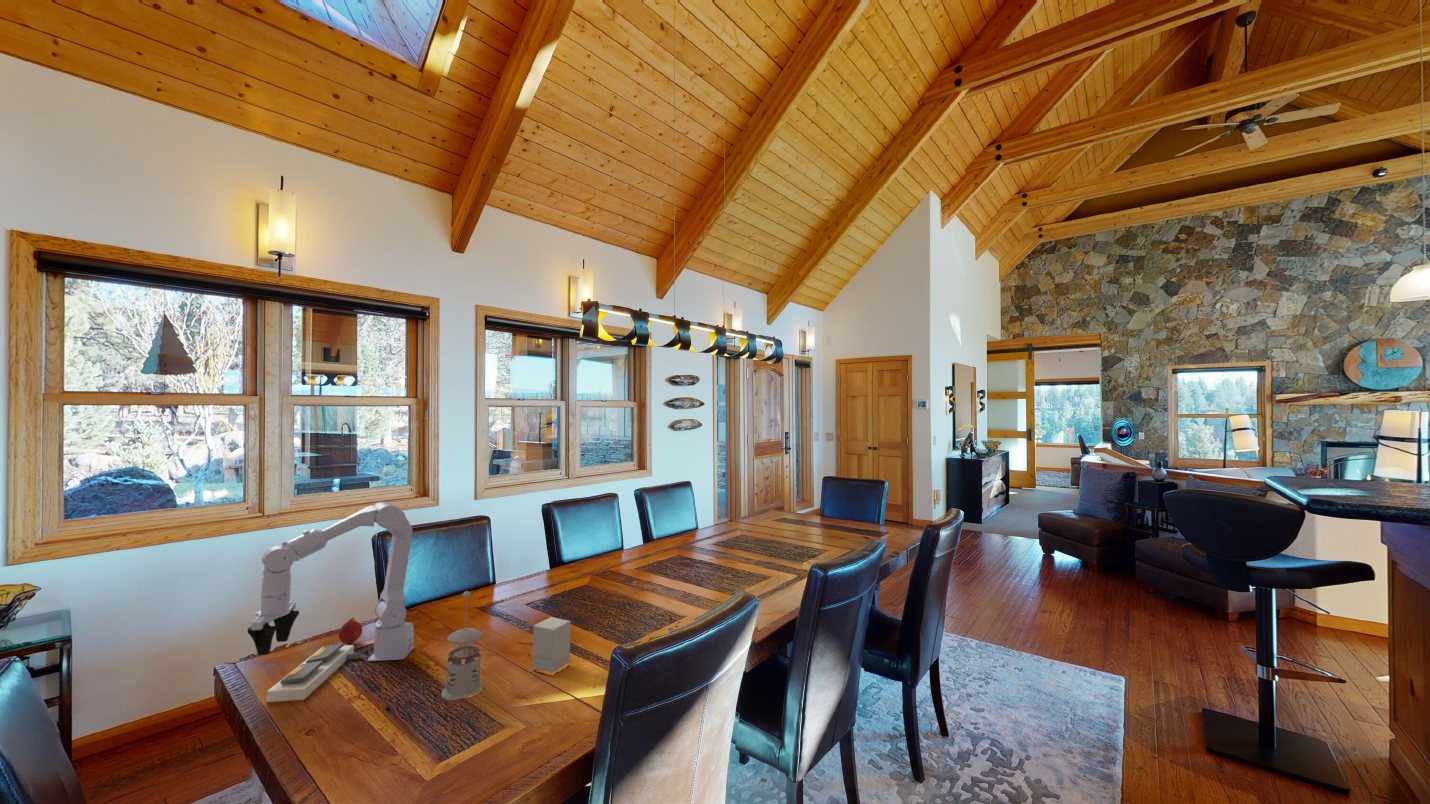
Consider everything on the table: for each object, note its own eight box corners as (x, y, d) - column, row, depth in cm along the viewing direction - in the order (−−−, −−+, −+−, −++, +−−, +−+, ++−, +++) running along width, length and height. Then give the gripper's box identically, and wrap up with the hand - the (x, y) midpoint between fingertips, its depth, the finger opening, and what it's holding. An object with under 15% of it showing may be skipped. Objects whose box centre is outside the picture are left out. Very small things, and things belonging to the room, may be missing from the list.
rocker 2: (344, 645, 149) (343, 641, 149) (327, 659, 140) (326, 656, 140) (324, 649, 148) (324, 646, 148) (306, 664, 139) (305, 660, 139)
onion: (349, 649, 154) (350, 622, 155) (333, 647, 156) (334, 620, 156) (366, 641, 160) (367, 615, 160) (350, 639, 161) (351, 613, 162)
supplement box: (570, 665, 148) (571, 620, 148) (551, 677, 141) (553, 629, 142) (550, 660, 151) (551, 615, 152) (531, 670, 144) (532, 624, 145)
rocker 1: (323, 663, 138) (323, 659, 138) (303, 680, 130) (303, 676, 130) (302, 667, 137) (301, 663, 137) (280, 684, 129) (280, 680, 129)
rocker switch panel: (366, 653, 152) (367, 644, 153) (320, 698, 128) (320, 687, 128) (322, 655, 150) (322, 646, 150) (266, 702, 126) (266, 691, 126)
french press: (440, 703, 127) (445, 600, 128) (441, 682, 137) (445, 586, 138) (485, 695, 131) (489, 594, 132) (481, 674, 142) (485, 581, 143)
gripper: (275, 585, 141) (273, 636, 140) (238, 604, 127) (235, 661, 126) (305, 584, 142) (302, 635, 142) (271, 603, 128) (268, 659, 128)
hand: (273, 647), depth 134 cm, fingers open, 7 cm apart
